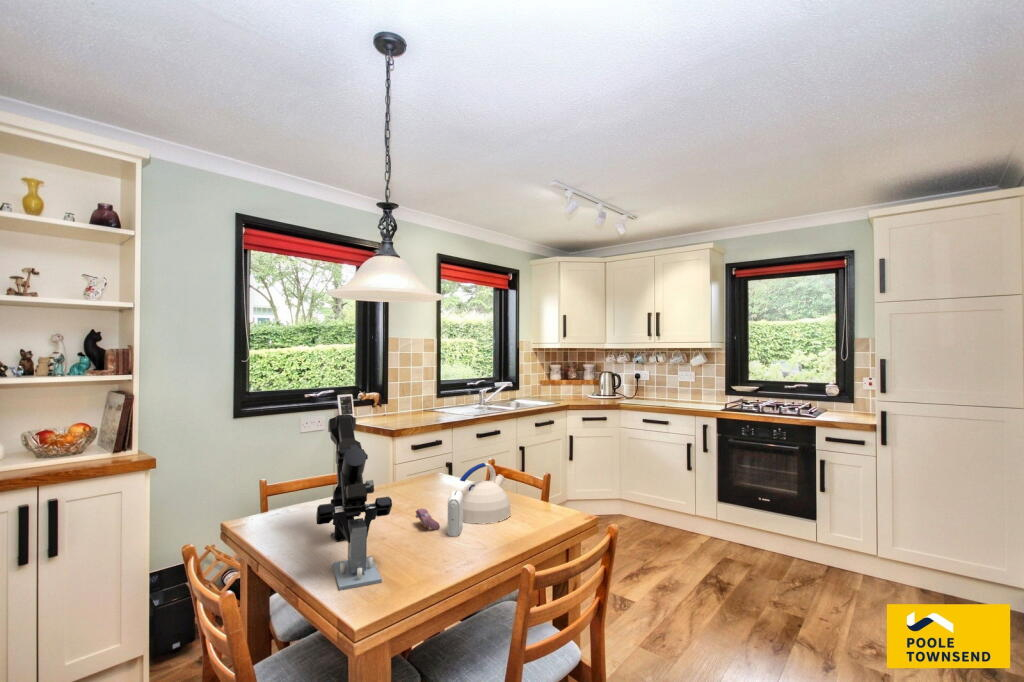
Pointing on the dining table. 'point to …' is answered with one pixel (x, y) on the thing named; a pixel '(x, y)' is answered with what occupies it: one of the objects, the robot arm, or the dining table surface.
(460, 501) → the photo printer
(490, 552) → the dining table surface
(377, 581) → the grey peg board
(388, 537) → the dining table surface
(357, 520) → the block
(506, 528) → the dining table surface
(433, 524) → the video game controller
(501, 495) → the kettle
